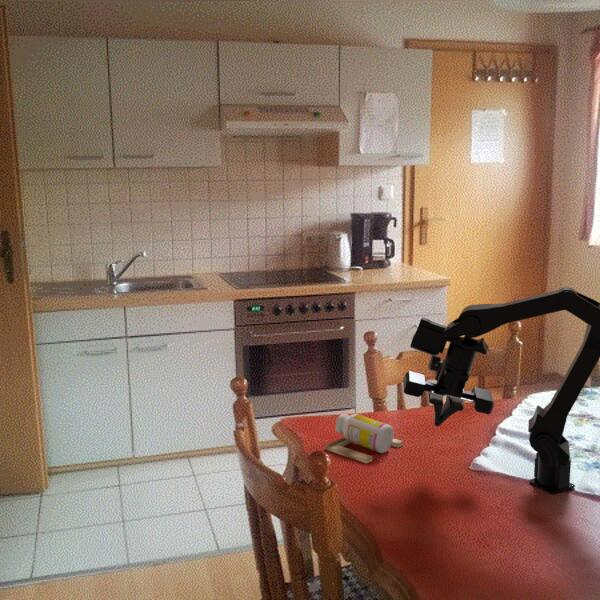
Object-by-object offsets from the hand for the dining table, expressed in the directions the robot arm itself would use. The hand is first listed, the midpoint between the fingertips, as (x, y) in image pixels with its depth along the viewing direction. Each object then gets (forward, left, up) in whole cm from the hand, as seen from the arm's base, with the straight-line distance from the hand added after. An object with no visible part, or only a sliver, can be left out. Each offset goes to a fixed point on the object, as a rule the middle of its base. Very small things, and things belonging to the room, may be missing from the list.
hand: (436, 425), depth 155 cm
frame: (+15, +8, -9) cm, 19 cm away
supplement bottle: (+10, +5, -6) cm, 13 cm away
